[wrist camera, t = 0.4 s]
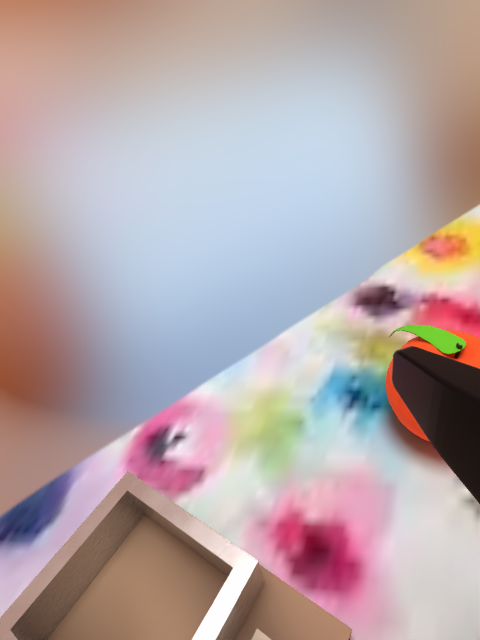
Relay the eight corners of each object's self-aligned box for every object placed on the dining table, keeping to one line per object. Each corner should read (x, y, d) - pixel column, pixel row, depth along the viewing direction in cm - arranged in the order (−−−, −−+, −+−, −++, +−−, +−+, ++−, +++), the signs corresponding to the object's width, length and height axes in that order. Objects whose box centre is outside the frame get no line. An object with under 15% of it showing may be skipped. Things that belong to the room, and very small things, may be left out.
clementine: (348, 404, 28) (351, 331, 23) (414, 358, 30) (429, 283, 25) (450, 493, 22) (481, 420, 18) (522, 427, 24) (565, 347, 20)
